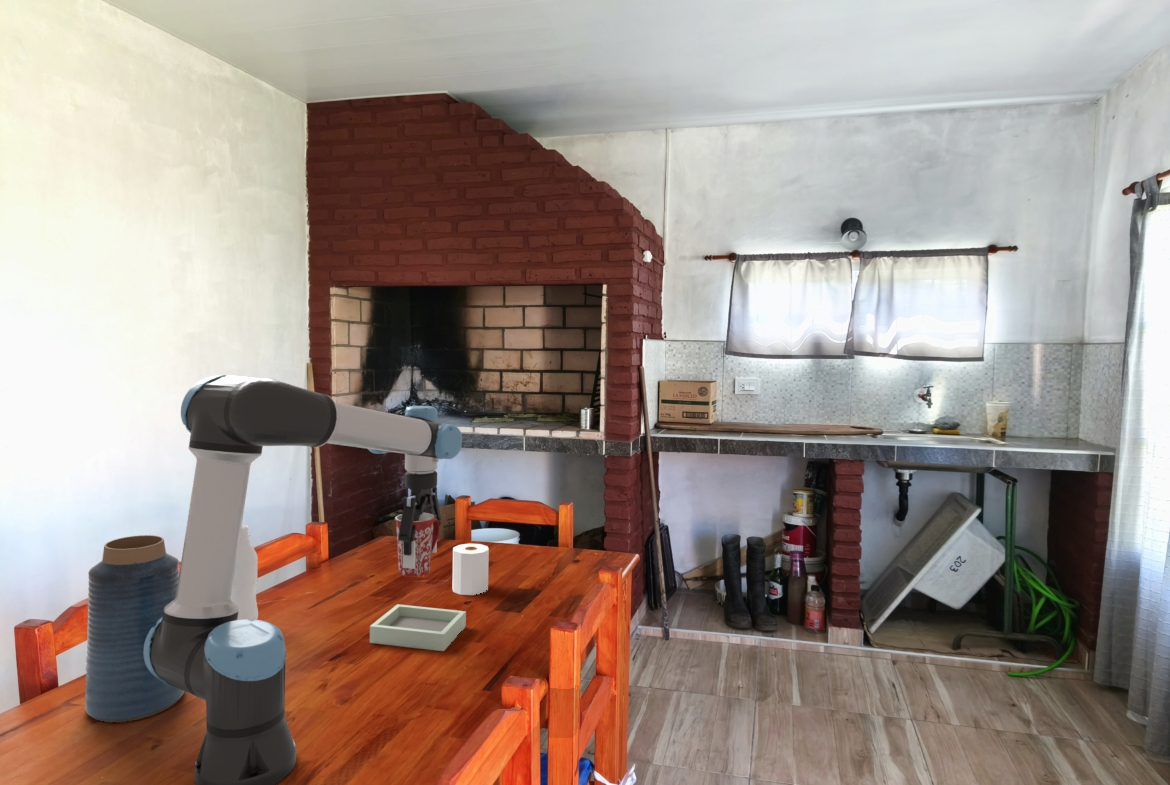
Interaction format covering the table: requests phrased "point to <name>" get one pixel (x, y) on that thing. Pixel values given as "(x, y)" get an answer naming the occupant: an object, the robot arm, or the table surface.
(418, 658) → the table surface
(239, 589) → the water bottle
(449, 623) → the tray
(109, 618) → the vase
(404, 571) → the mug
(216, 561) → the robot arm
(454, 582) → the toilet paper
